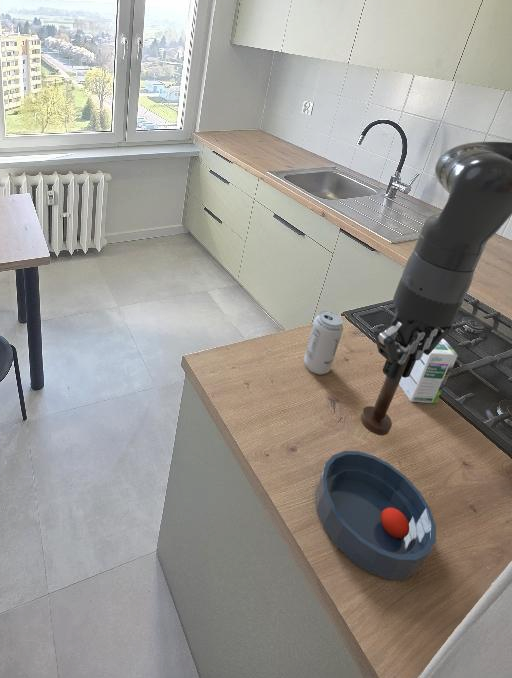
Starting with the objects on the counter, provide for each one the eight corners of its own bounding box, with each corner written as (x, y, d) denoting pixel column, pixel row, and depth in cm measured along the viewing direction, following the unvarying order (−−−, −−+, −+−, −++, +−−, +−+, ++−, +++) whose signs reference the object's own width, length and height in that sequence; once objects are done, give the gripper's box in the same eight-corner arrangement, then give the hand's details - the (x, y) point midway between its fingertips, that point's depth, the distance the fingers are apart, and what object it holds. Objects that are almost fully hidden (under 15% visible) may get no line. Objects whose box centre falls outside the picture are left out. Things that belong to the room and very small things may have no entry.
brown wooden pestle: (373, 409, 73) (402, 337, 66) (395, 431, 69) (428, 358, 62) (354, 415, 72) (381, 343, 65) (375, 438, 68) (406, 364, 61)
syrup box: (410, 402, 93) (432, 353, 87) (395, 381, 99) (415, 333, 93) (436, 404, 93) (460, 355, 87) (420, 382, 98) (441, 335, 93)
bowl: (364, 460, 80) (372, 440, 78) (447, 558, 66) (461, 536, 64) (294, 487, 75) (301, 466, 73) (369, 600, 61) (381, 578, 59)
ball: (389, 513, 72) (396, 498, 70) (410, 538, 68) (418, 524, 67) (372, 521, 70) (378, 506, 69) (392, 547, 67) (400, 533, 65)
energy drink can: (327, 380, 98) (343, 331, 92) (300, 369, 101) (314, 320, 95) (331, 364, 103) (346, 315, 96) (305, 353, 105) (319, 306, 99)
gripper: (421, 310, 53) (381, 405, 60) (494, 292, 58) (449, 383, 65) (373, 276, 60) (342, 366, 67) (441, 263, 64) (406, 348, 71)
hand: (395, 374), depth 66 cm, fingers closed on brown wooden pestle, 2 cm apart
